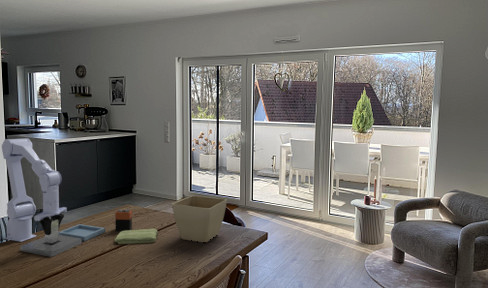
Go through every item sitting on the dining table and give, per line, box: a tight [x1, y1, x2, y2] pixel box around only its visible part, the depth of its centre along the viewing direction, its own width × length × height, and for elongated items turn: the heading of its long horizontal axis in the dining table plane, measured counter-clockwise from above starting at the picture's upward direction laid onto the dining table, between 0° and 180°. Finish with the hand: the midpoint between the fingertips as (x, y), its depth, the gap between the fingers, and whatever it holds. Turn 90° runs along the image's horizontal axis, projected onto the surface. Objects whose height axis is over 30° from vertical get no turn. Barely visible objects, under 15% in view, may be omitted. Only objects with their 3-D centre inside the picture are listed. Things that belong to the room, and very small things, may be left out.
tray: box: [59, 223, 106, 242], centre depth 169 cm, size 15×13×2 cm
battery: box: [114, 208, 133, 232], centre depth 177 cm, size 4×7×10 cm, turn 91°
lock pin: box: [44, 217, 60, 243], centre depth 153 cm, size 4×4×9 cm
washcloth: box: [114, 228, 158, 245], centre depth 166 cm, size 13×18×3 cm
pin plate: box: [19, 235, 83, 258], centre depth 153 cm, size 16×16×2 cm
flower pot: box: [171, 195, 228, 243], centre depth 169 cm, size 19×19×17 cm
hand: (51, 233), depth 153 cm, fingers closed on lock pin, 4 cm apart
